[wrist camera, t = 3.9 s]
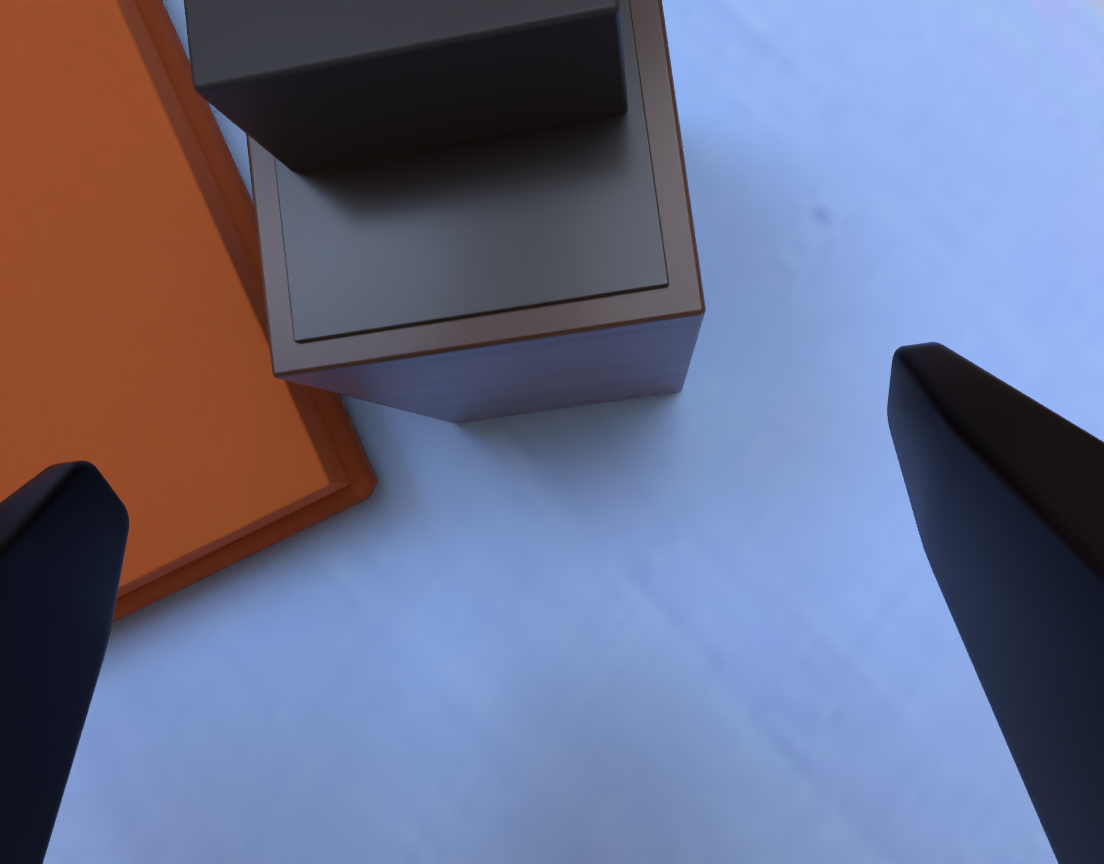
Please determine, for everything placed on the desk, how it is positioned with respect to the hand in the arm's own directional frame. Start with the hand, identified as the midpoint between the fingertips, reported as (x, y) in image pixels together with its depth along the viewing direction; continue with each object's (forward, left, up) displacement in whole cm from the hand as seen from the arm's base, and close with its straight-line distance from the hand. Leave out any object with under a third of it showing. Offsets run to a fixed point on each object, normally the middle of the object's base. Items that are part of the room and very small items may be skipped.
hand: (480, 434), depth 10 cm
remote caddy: (+4, -1, -11) cm, 12 cm away
